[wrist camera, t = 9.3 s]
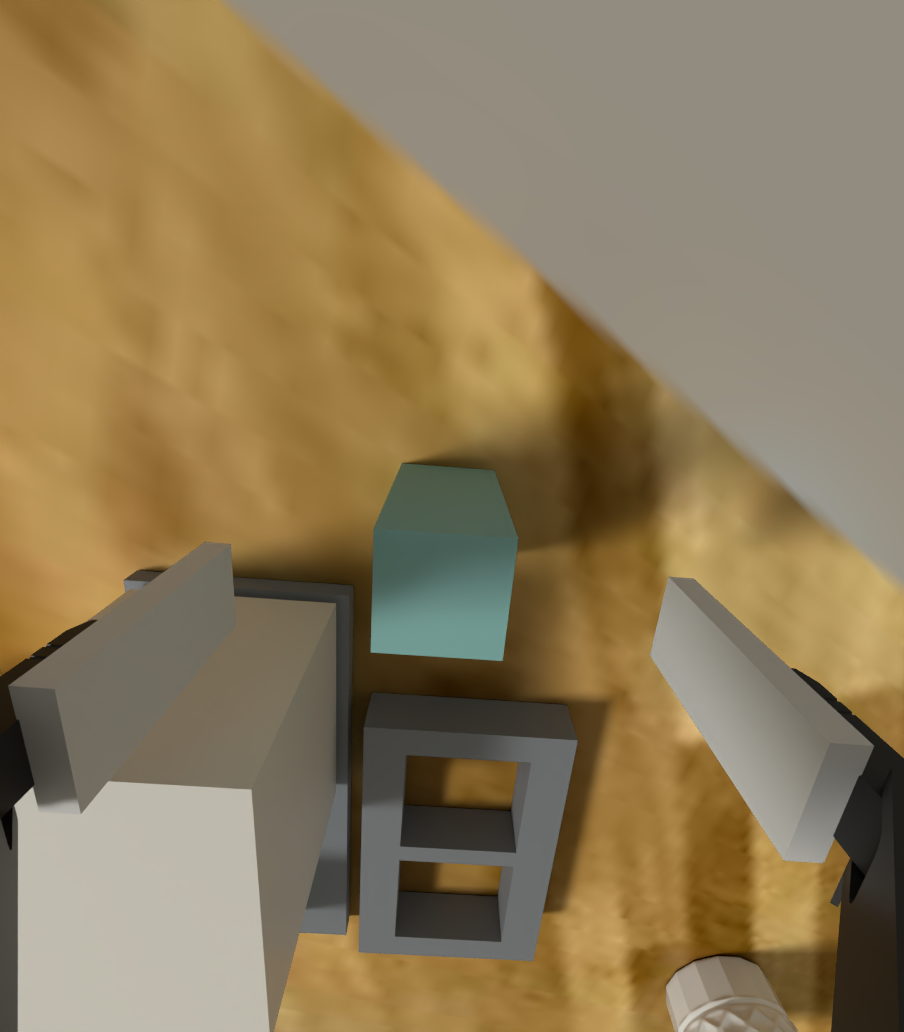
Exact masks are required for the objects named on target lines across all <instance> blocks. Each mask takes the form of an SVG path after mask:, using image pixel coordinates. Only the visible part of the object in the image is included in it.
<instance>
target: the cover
mask: <svg viewBox="0 0 904 1032" xmlns="http://www.w3.org/2000/svg"><path fill="white" fill-rule="evenodd" d="M137 591H138V590H134V589H130V590H128V591H127V592H126V593H124V594H123V595H122V596H120V597H119V598H118V599H116V600H115V601H114V602H112V603H111V604H110V605H108V606H107V607H106V608H104V609H103V610H101V611H100V612H99V613H97V614H96V615H95V616H93V617H92V618H91V619H89V620H88V621H90V620H99V619H100V618H102V617H103V616H104V615H106V614H107V613H108V612H110V611H111V610H112V609H114V608H115V607H117V606H118V605H119V604H121V603H122V602H123V601H125V600H126V599H127V598H129V597H130V596H132V595H133V594H134V593H136V592H137ZM234 600H235V615H236V627H235V628H234V629H233V630H232V631H231V633H230V634H229V635H228V636H227V637H226V639H225V640H224V641H223V642H222V644H221V645H220V646H219V647H218V648H217V650H216V651H215V652H214V653H213V654H212V656H211V657H210V658H209V659H208V661H207V662H206V663H205V664H204V665H203V667H202V668H201V669H200V670H199V672H198V673H197V674H196V675H195V676H194V678H193V679H192V680H191V681H190V682H189V684H188V685H187V686H186V687H185V689H184V690H183V691H182V692H181V693H180V695H179V696H178V697H177V698H176V699H175V701H174V702H173V703H172V704H171V706H170V707H169V708H168V709H167V710H166V712H165V713H164V714H163V715H162V716H161V718H160V719H159V720H158V721H157V723H156V724H155V725H154V726H153V727H152V729H151V730H150V731H149V732H148V734H147V735H146V736H145V737H144V738H143V740H142V741H141V742H140V743H139V744H138V746H137V747H136V748H135V749H134V751H133V752H132V753H131V754H130V755H129V757H128V758H127V759H126V760H125V761H124V763H123V764H122V765H121V766H120V768H119V769H118V770H117V771H116V772H115V774H114V775H113V776H112V777H111V779H110V780H109V781H108V782H107V783H106V785H105V786H104V787H103V788H102V789H101V791H100V792H99V793H98V794H97V796H96V797H95V798H94V799H93V800H92V802H91V803H90V804H89V805H88V806H87V808H86V809H85V810H84V811H83V813H82V814H66V813H50V812H39V810H38V806H37V802H36V798H35V794H34V790H33V787H32V788H31V789H30V790H29V791H28V792H27V793H26V794H25V795H24V796H23V797H22V798H21V799H20V800H19V801H18V802H17V803H16V804H15V805H14V806H15V810H16V814H17V818H18V1032H274V1028H275V1024H276V1020H277V1017H278V1013H279V1009H280V1005H281V1001H282V997H283V994H284V990H285V986H286V982H287V978H288V974H289V971H290V967H291V963H292V959H293V955H294V951H295V948H296V944H297V940H298V936H299V932H300V929H301V925H302V921H303V917H304V913H305V909H306V906H307V902H308V898H309V894H310V890H311V886H312V883H313V879H314V875H315V871H316V867H317V863H318V860H319V856H320V852H321V848H322V844H323V840H324V837H325V833H326V829H327V825H328V821H329V817H330V814H331V810H332V806H333V802H334V798H335V794H336V603H324V602H309V601H295V600H280V599H265V598H251V597H236V596H234Z"/></svg>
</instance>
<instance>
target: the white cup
mask: <svg viewBox="0 0 904 1032" xmlns="http://www.w3.org/2000/svg"><path fill="white" fill-rule="evenodd" d="M666 1003H667V1007H668V1010H669V1013H670V1017H671V1020H672V1024H673V1027H674V1030H675V1032H798V1030H797V1028H796V1027H795V1025H794V1024H793V1023H792V1022H791V1021H790V1020H789V1017H788V1016H787V1014H786V1012H785V1010H784V1008H783V1006H782V1005H781V1003H780V1001H779V999H778V997H777V995H776V993H775V991H774V990H773V988H772V986H771V984H770V982H769V980H768V979H767V977H766V976H765V974H764V973H763V972H762V970H761V969H760V968H759V966H758V965H756V964H754V963H752V962H750V961H747V960H745V959H742V958H740V957H728V956H715V957H710V958H706V959H704V958H703V959H701V960H697V961H694V962H692V963H690V964H689V965H687V966H685V967H683V968H682V969H680V970H678V971H677V972H676V973H675V974H674V976H673V977H672V978H671V980H670V981H669V982H668V984H667V985H666Z"/></svg>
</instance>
